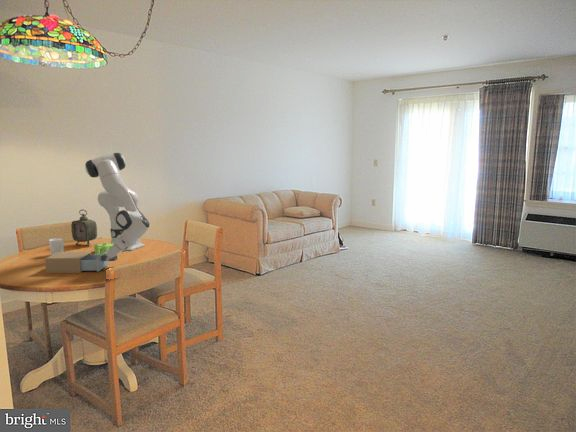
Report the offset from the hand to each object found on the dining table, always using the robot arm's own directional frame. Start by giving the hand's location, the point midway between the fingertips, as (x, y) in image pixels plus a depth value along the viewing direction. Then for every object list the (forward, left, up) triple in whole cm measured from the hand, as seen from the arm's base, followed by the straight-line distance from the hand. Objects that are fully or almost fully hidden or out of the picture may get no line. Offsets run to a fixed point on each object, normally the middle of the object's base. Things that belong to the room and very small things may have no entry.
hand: (109, 258), depth 223 cm
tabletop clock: (-32, -62, -6) cm, 70 cm away
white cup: (-6, -54, -6) cm, 55 cm away
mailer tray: (+4, -8, -5) cm, 10 cm away
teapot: (-15, -21, -6) cm, 26 cm away
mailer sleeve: (+10, -19, -6) cm, 22 cm away
